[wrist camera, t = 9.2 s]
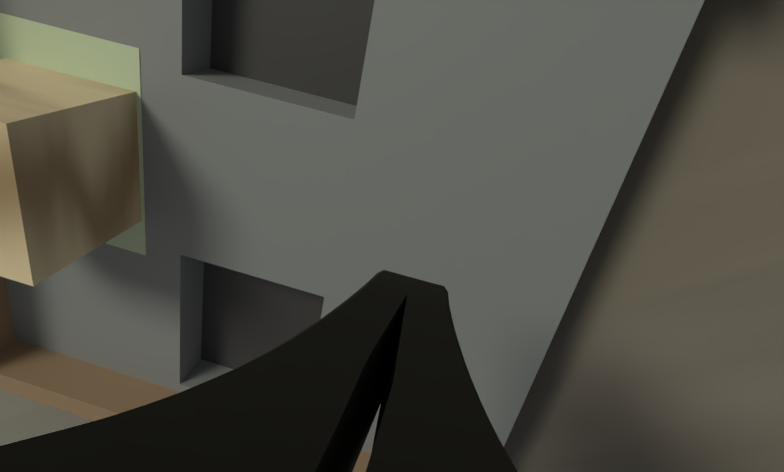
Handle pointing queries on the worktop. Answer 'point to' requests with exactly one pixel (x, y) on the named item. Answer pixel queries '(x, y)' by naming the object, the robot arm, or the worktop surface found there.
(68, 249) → the block
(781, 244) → the worktop surface
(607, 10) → the trap board
